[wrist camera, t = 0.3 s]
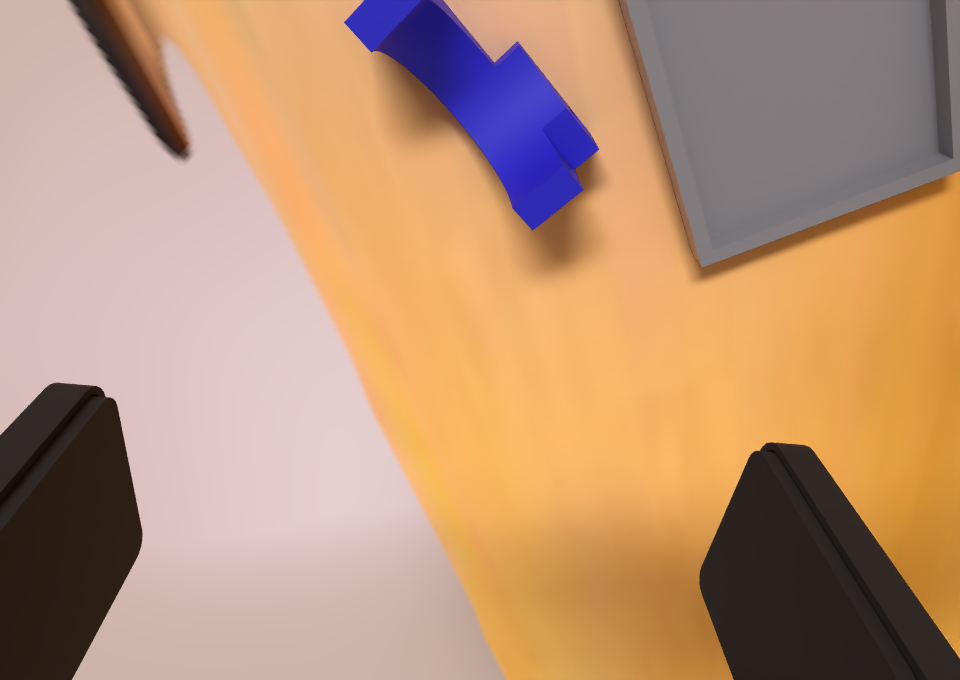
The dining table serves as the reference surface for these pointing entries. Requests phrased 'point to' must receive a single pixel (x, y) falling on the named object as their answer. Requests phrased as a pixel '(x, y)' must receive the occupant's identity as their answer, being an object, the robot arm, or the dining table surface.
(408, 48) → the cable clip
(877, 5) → the shallow rectangular tray
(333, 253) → the dining table surface
